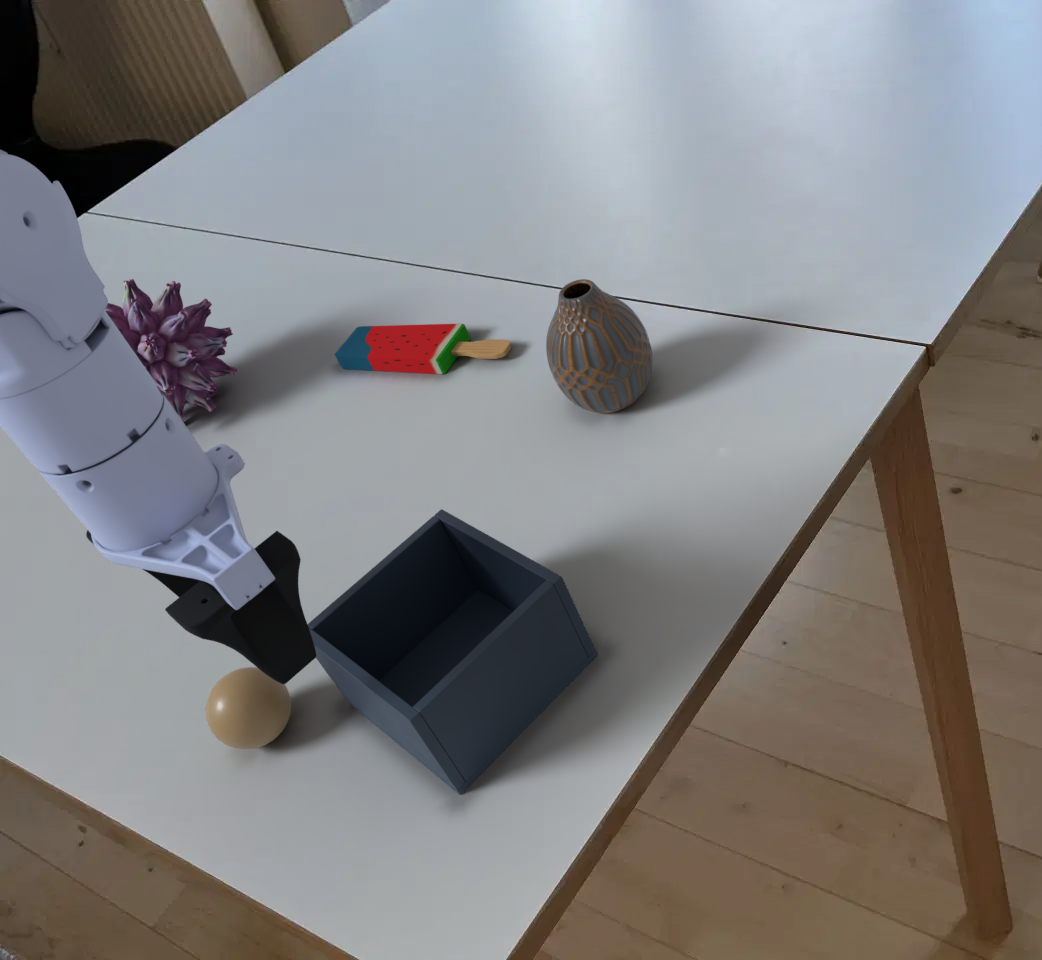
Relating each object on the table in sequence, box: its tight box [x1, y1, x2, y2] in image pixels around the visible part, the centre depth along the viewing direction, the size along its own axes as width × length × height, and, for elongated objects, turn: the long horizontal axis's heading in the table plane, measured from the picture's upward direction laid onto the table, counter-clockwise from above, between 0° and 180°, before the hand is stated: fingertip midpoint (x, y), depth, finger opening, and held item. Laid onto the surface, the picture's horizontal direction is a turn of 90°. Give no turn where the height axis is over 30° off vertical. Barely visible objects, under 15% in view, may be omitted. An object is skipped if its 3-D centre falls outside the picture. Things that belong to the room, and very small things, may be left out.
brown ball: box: [205, 666, 292, 750], centre depth 60 cm, size 4×4×4 cm
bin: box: [307, 508, 599, 796], centre depth 58 cm, size 10×10×6 cm
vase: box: [545, 278, 654, 414], centre depth 73 cm, size 7×7×9 cm
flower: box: [105, 278, 238, 422], centre depth 86 cm, size 12×12×12 cm
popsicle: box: [334, 323, 512, 375], centre depth 86 cm, size 4×2×15 cm
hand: (257, 634), depth 54 cm, fingers open, 7 cm apart
